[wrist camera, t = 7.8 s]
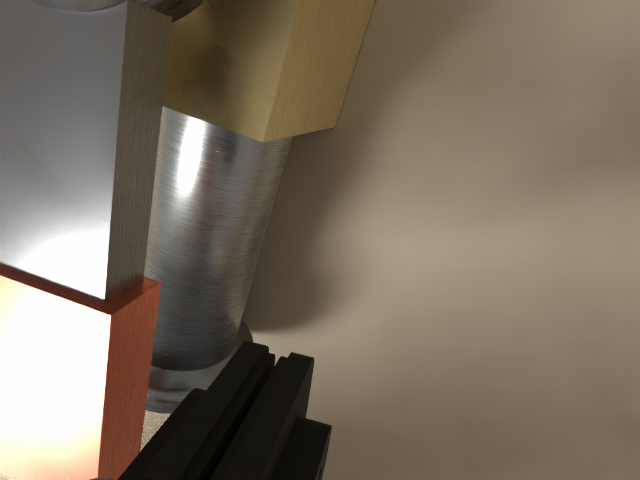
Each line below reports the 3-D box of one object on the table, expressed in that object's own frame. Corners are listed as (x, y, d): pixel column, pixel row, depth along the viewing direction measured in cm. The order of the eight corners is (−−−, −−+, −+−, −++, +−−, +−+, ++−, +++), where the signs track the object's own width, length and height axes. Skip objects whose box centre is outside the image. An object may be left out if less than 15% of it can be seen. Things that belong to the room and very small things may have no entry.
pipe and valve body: (286, -394, 12) (23, -1365, 4) (486, -354, 12) (633, -1418, 4) (153, 300, 21) (-24, 425, 12) (266, 347, 20) (158, 512, 12)
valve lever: (13, -313, 7) (-105, -434, 5) (277, -277, 6) (230, -403, 5) (16, 409, 11) (-45, 454, 10) (163, 470, 11) (122, 527, 9)
